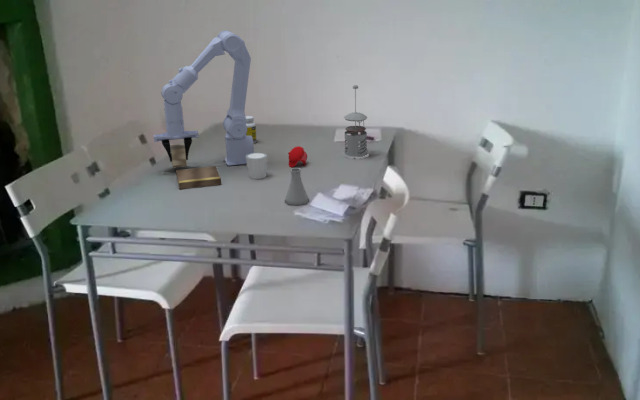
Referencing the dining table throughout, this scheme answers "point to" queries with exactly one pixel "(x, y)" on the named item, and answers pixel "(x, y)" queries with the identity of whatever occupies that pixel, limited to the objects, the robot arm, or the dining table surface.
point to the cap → (297, 156)
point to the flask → (296, 189)
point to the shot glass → (256, 165)
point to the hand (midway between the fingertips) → (178, 160)
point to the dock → (198, 177)
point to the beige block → (178, 155)
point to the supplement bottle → (251, 127)
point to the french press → (355, 134)
